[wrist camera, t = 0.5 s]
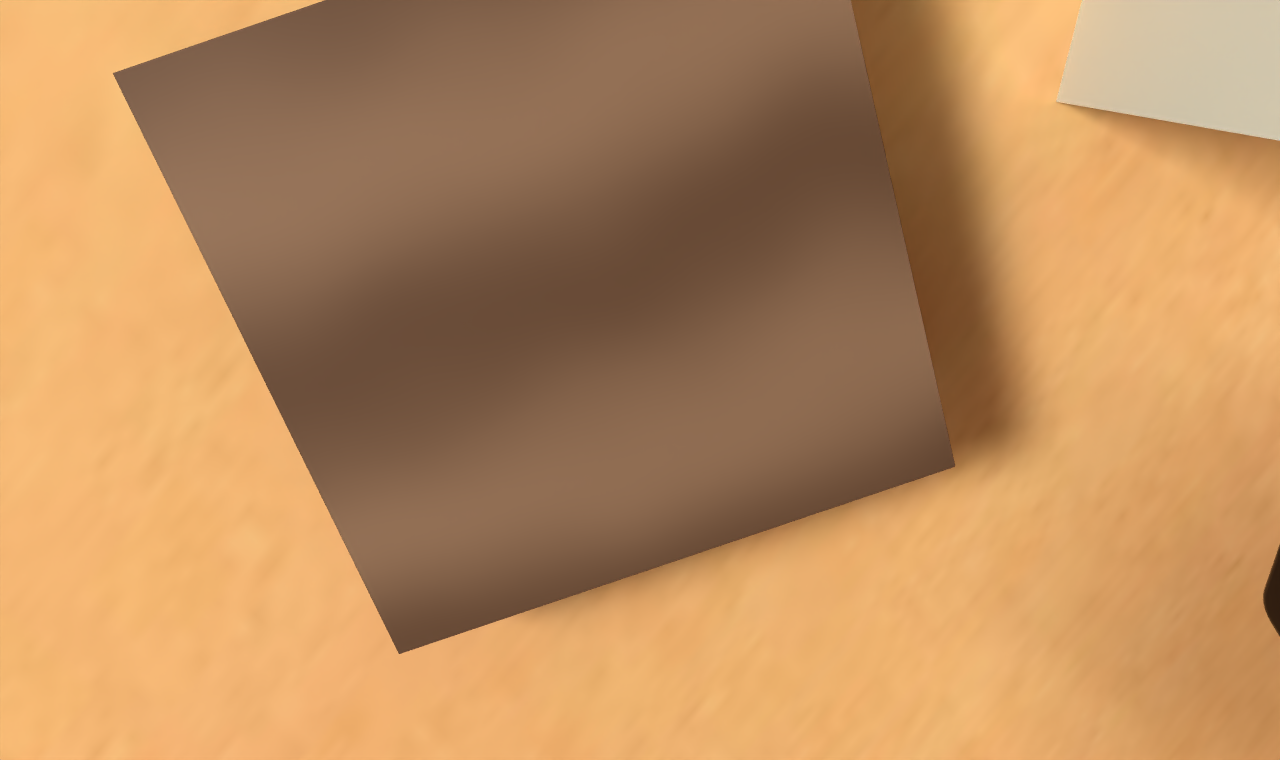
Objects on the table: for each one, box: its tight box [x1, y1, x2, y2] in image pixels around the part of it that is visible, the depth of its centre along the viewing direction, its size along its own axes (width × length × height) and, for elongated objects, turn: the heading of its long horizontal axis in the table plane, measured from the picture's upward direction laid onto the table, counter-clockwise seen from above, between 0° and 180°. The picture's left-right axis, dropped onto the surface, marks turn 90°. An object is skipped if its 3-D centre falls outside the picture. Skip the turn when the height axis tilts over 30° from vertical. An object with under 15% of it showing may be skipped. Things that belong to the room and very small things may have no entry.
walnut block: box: [113, 0, 955, 654], centre depth 20 cm, size 12×12×4 cm
